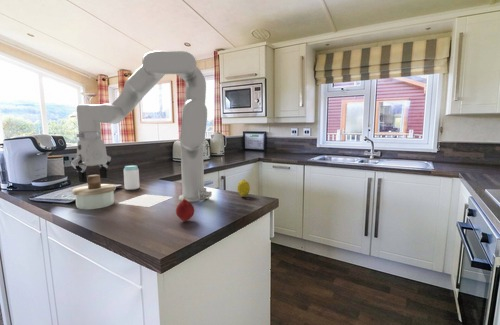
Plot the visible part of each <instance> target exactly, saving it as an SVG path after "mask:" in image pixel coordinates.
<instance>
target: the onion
mask: <svg viewBox="0 0 500 325" xmlns="http://www.w3.org/2000/svg"><path fill="white" fill-rule="evenodd" d="M175 214H176V216H177V217H178V218H179V219H180V220H182V221H183V222H184V223H185V222H188V221H189V220H190V219H191V218H192V217H193V215H194V214H195V207H194V205H193V204H192V202H189V201H187V200H186V199H185V198H183V201H180V202H179V203H178V205H176V209H175Z"/></svg>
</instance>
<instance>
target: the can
mask: <svg viewBox="0 0 500 325" xmlns="http://www.w3.org/2000/svg"><path fill="white" fill-rule="evenodd" d="M139 171H140V169H139V168H138V165H135V164H134V165H133V164H131V165H125V166H124V168H123V182H124V190H126V191H129V190H137V189H139V188H140V172H139Z"/></svg>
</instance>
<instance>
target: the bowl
mask: <svg viewBox="0 0 500 325" xmlns="http://www.w3.org/2000/svg"><path fill="white" fill-rule="evenodd" d="M114 192H115V190H114V191H112V192H108V193H104V194H97V195H85V196H81V195H74V198H75V206H76V208H77V209H78V210H95V209H102V208H106V207H109V206H110V207H111V205H114V203H115V193H114Z"/></svg>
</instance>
